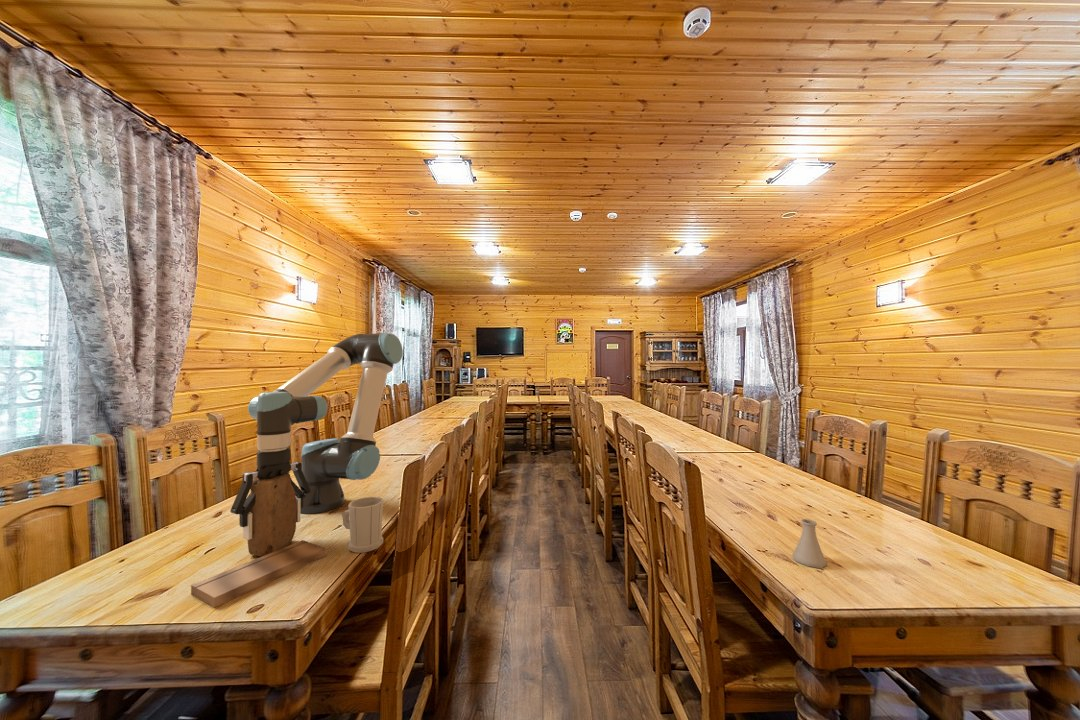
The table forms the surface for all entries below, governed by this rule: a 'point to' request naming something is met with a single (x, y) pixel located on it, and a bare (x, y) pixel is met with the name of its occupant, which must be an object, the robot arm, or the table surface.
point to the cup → (364, 524)
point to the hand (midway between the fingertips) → (273, 529)
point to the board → (256, 573)
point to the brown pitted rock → (272, 515)
